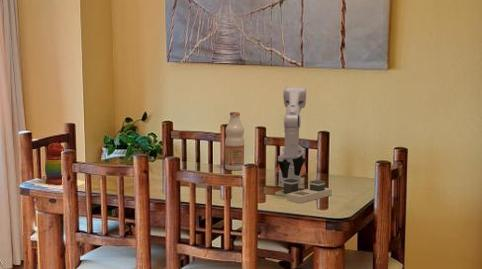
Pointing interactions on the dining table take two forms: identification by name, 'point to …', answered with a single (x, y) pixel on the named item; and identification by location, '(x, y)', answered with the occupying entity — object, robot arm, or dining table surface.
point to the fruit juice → (234, 143)
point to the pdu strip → (308, 195)
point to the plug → (290, 186)
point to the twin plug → (317, 185)
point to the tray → (281, 193)
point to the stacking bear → (54, 164)
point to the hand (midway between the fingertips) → (291, 176)
